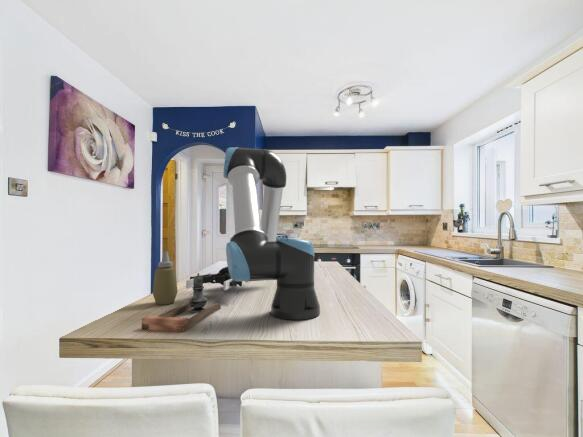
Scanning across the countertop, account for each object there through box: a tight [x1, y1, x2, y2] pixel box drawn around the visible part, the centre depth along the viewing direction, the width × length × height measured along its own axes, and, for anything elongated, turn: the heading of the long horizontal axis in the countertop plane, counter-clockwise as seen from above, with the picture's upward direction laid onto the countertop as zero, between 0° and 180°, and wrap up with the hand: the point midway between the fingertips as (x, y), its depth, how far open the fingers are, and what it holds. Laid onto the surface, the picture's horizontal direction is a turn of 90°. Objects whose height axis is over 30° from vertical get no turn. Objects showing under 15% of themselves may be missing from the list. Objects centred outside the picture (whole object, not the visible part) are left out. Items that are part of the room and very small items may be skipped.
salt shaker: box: [187, 272, 208, 314], centre depth 97 cm, size 6×6×12 cm
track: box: [141, 301, 222, 333], centre depth 89 cm, size 12×23×3 cm, turn 170°
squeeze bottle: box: [152, 251, 179, 306], centre depth 106 cm, size 8×8×18 cm
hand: (205, 285), depth 103 cm, fingers open, 13 cm apart
